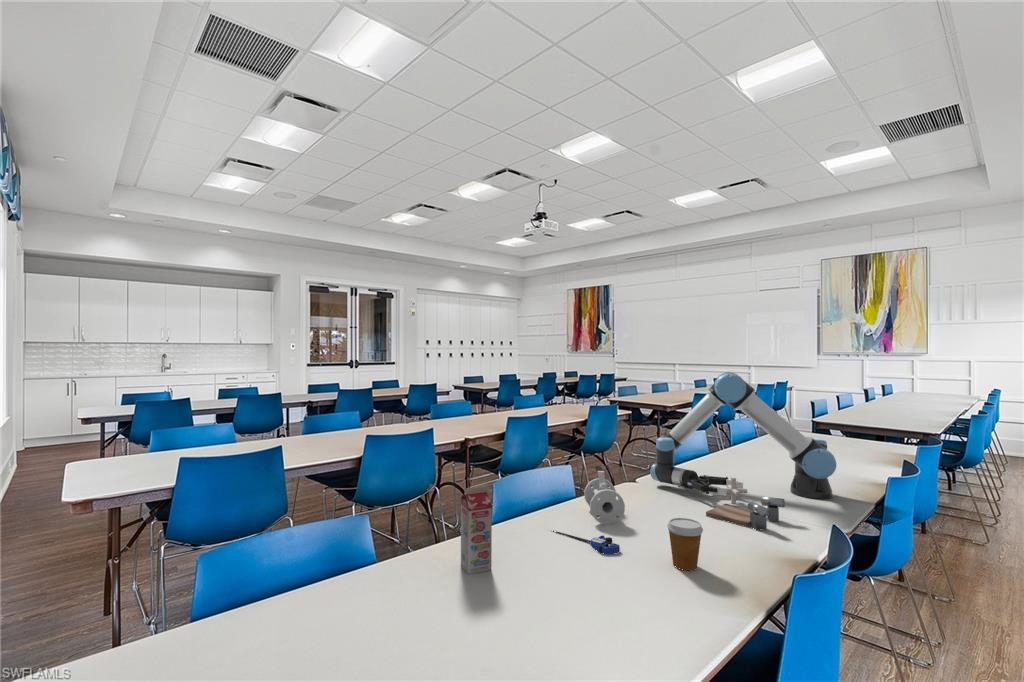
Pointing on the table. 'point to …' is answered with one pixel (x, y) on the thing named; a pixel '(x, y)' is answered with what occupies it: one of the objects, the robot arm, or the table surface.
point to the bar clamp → (600, 544)
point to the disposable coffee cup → (685, 542)
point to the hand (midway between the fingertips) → (734, 488)
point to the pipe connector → (734, 490)
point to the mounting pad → (731, 514)
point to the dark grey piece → (758, 516)
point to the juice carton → (476, 530)
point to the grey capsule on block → (773, 507)
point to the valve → (604, 500)
